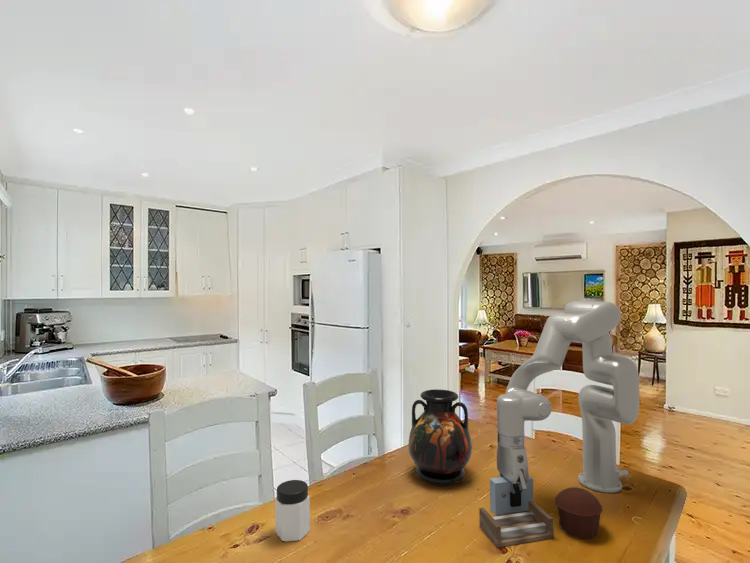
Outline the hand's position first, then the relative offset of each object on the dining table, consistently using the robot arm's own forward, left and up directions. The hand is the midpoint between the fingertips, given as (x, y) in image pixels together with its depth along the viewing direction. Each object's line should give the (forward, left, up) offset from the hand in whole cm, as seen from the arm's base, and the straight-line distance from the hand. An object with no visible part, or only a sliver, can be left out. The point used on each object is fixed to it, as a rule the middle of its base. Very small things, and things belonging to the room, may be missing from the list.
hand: (511, 501), depth 118 cm
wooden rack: (+5, +10, -2) cm, 11 cm away
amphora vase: (+12, -25, -2) cm, 28 cm away
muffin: (-12, +13, -3) cm, 18 cm away
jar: (+62, -4, -2) cm, 62 cm away
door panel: (0, 0, -2) cm, 2 cm away
